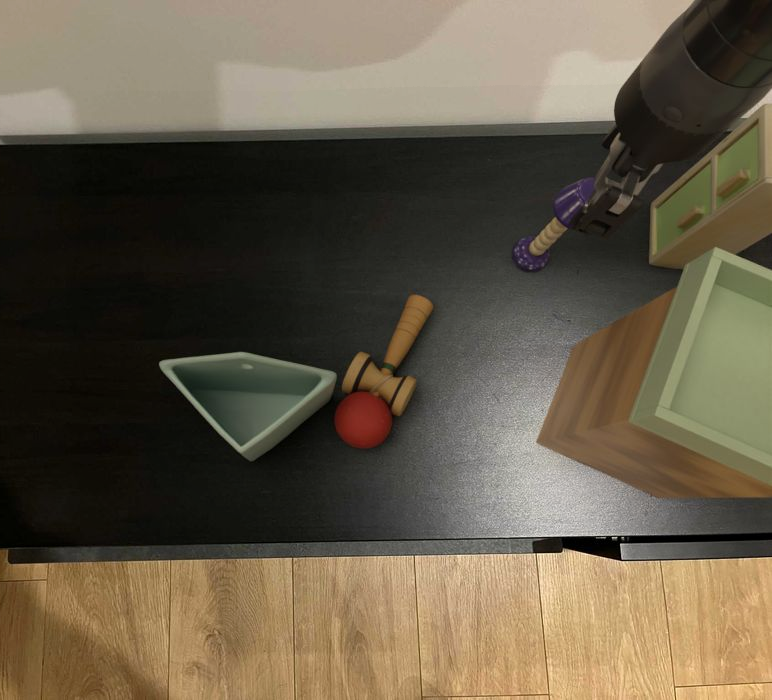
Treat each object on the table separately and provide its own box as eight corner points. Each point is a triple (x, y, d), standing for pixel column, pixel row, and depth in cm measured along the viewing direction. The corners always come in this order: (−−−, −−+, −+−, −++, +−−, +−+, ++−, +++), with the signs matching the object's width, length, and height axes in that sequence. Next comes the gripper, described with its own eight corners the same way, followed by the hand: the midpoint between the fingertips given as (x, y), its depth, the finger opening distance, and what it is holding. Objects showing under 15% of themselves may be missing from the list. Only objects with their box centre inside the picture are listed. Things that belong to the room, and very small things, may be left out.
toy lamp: (531, 227, 81) (589, 158, 64) (561, 254, 80) (628, 191, 64) (503, 254, 80) (555, 191, 63) (534, 282, 79) (594, 226, 63)
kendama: (379, 293, 80) (310, 430, 74) (398, 274, 74) (325, 421, 68) (436, 326, 81) (372, 464, 75) (460, 310, 75) (393, 458, 69)
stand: (693, 397, 76) (866, 351, 53) (658, 498, 74) (822, 497, 51) (574, 344, 78) (691, 277, 54) (535, 442, 75) (641, 416, 52)
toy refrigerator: (643, 200, 81) (758, 99, 61) (705, 208, 81) (842, 110, 61) (640, 264, 80) (757, 183, 59) (704, 273, 79) (844, 194, 59)
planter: (175, 456, 75) (131, 440, 55) (183, 383, 76) (143, 344, 57) (327, 466, 75) (335, 454, 55) (331, 393, 76) (341, 357, 57)
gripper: (718, 192, 45) (609, 271, 61) (781, 17, 48) (661, 137, 64) (609, 146, 46) (529, 237, 61) (678, -23, 48) (584, 106, 64)
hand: (596, 186), depth 62 cm, fingers open, 8 cm apart
